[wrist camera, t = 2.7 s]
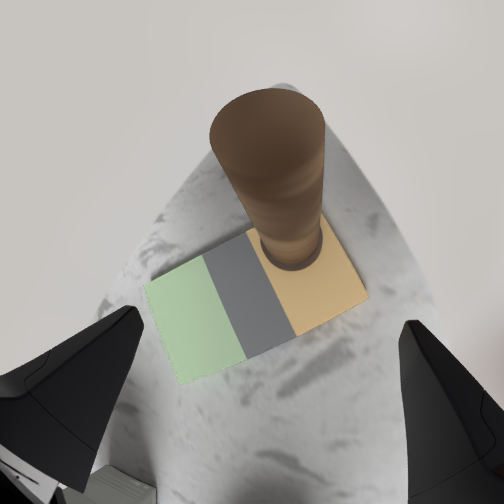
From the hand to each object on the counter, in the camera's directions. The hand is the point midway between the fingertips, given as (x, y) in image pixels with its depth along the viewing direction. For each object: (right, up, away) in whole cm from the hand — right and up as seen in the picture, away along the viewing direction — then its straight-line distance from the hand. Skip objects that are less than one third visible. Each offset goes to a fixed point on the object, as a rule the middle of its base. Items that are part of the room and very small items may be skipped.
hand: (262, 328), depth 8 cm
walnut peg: (+3, +3, +13) cm, 13 cm away
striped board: (0, -1, +13) cm, 13 cm away
